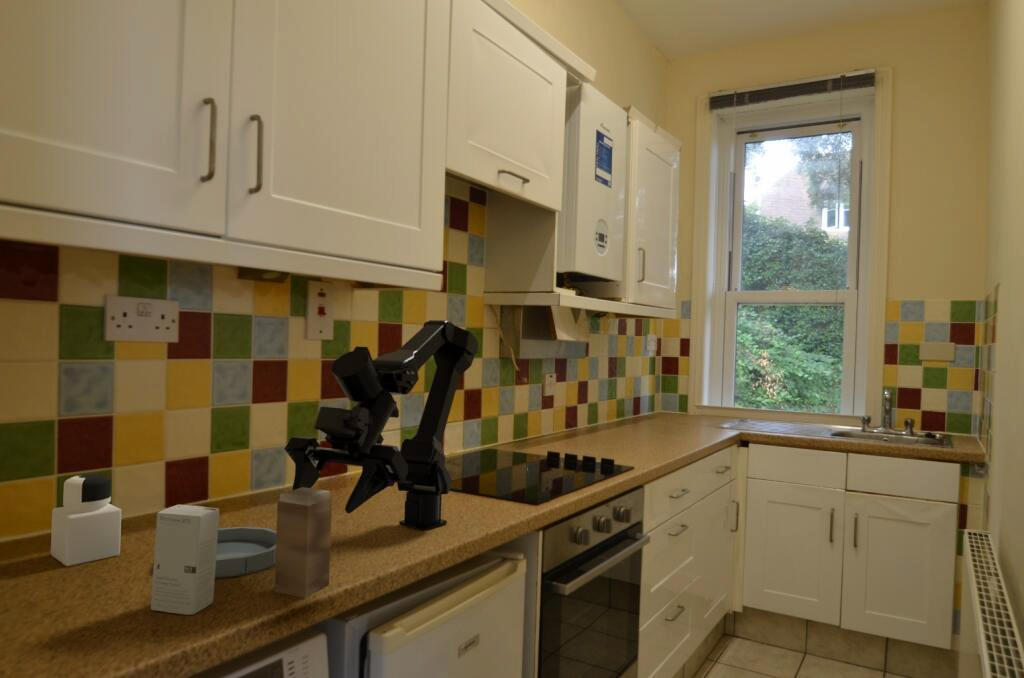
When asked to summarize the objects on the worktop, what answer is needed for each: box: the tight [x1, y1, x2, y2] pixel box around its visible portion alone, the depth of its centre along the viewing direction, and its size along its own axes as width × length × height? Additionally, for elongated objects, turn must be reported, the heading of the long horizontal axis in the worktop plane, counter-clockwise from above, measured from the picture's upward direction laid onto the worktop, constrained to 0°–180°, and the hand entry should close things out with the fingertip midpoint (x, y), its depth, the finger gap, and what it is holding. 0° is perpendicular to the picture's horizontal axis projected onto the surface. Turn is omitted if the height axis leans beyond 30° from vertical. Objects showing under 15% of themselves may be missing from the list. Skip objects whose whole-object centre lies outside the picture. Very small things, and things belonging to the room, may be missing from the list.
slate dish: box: [215, 526, 277, 579], centre depth 98 cm, size 16×16×2 cm
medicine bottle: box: [50, 473, 122, 567], centre depth 98 cm, size 7×7×12 cm
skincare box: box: [150, 504, 220, 616], centre depth 81 cm, size 6×4×12 cm
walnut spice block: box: [274, 487, 333, 599], centre depth 88 cm, size 5×5×13 cm
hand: (319, 507), depth 91 cm, fingers open, 9 cm apart
